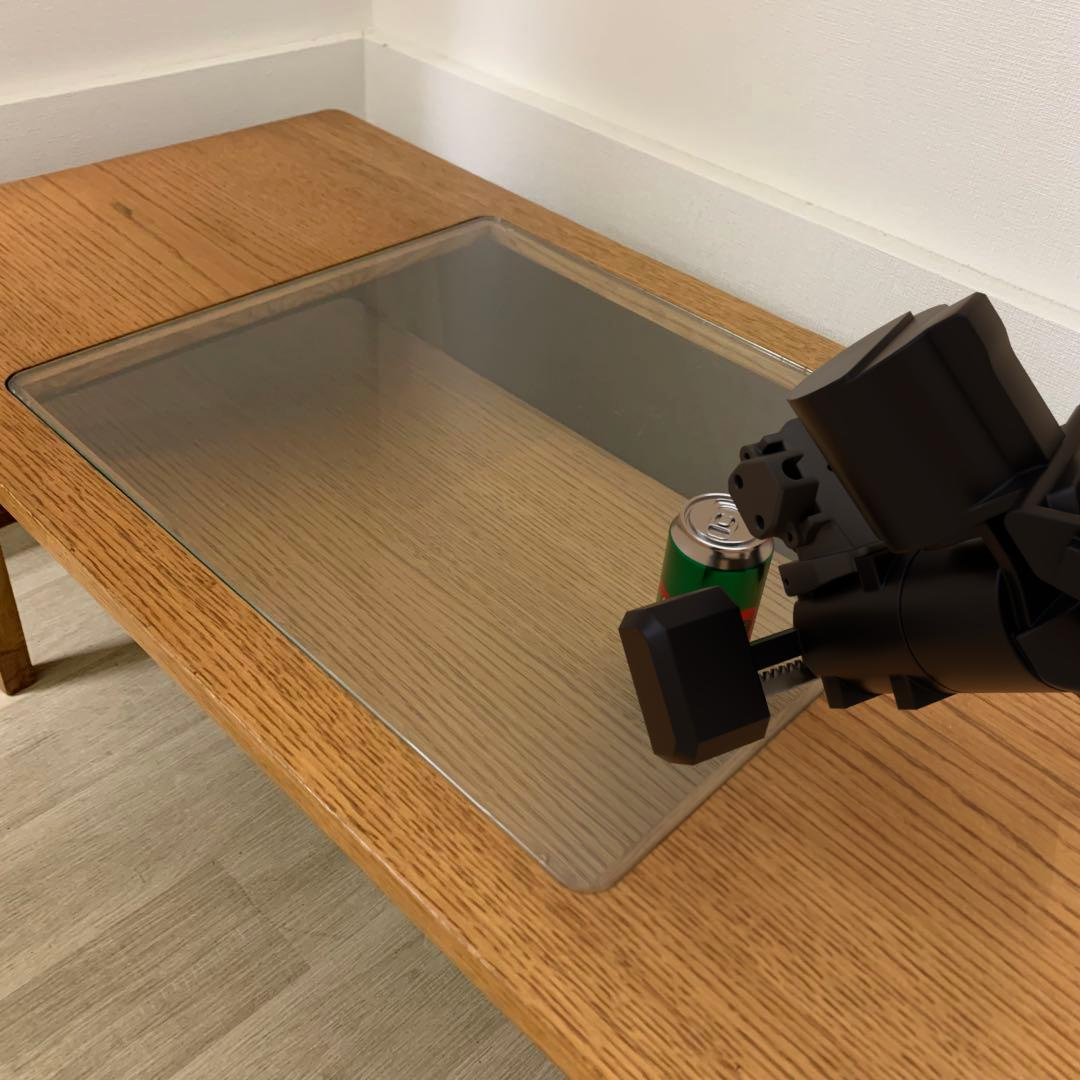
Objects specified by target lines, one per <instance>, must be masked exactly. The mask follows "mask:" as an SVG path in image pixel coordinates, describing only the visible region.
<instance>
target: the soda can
mask: <svg viewBox="0 0 1080 1080" xmlns="http://www.w3.org/2000/svg"><path fill="white" fill-rule="evenodd" d="M668 528H669V529H668V534H667V540H666V544H665V550H664V555H663V561H662V566H661V571H660V578H659V582H658V587H657V593H656V599H655V602H659V601H662V600H665V599H668V598H671V597H675V596H678V595H681V594H685V593H689V592H692V591H696V590H700V589H704V588H708V587H714V586H719V585H720V586H721V587H722V588H723V589H724V590H725V591H726V592H727V594H728V595H729V596H730V597H731V598H732V599H733V600H734V601H735V602H736V603H737V604H738V606H739V608H740V612H741V615H742V618H743V622H744V625H745V629H746V632H747V636H748V639H749V642H751V639H752V635H753V631H754V628H755V623H756V620H757V617H758V612H759V608H760V606H761V601H762V598H763V593H764V590H765V586H766V582H767V578H768V575H769V570H770V567H771V564H772V560H773V556H774V552H775V541H774V537H771V538H768V539H764V540H759V539H757V538H755V537H753V536H752V535H751V534H750V533H749V531H748V529H747V527H746V525H745V523H744V521H743V519H742V517H741V515H740V513H739V512H738V510H737V508H736V506H735V504H734V502H733V500H732V498H731V496H730V494H729V493H725V492H708V493H702V494H698V495H696V496H693V497H692V498H690V499H688V500H687V501H686V502H685V503H684V504H683V505H682V507H681V509H680V511H679V513H678V514H677V515H676V516H674V518H673V519H672V520H671V522H670V525H669V527H668Z"/></svg>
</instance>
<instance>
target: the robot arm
mask: <svg viewBox="0 0 1080 1080" xmlns="http://www.w3.org/2000/svg"><path fill="white" fill-rule="evenodd" d="M785 400H786V402H787V403H788V404H789V406H790V408H791V410H792V411H793V412H794V414H795V415H796V417H795V418H791V419H789V420H788V421H786V422H785V423H784V424H783V426H781V428H780V429H778V432H774V433H770V434H766V435H763V436H762V438H760V440H759V441H758V442H754V443H750V444H745V445H742V446H741V448H740V449H739V460H740V462H739V463H738V464H737V465H736V467H735V468H734V469H733V470H732V471H731V473H730V474H729V476H728V480H727V491H728V494H730V496H731V498H732V500H733V502H734V504H735V506H736V508H737V510H738V512H739V513H740V515H741V517H742V519H743V521H744V523H745V525H746V527H747V529H748V531H749V533H750V534H751V535H752V536H753V537H755V538H757V539H759V540H764V539H768V538H771V537H773V538H777V539H779V540H781V541H782V543H783V544H784V545H785V547H786V548H787V549H789V550H791V551H793V552H794V553H795V554H796V555H797V557H798V558H797V559H796V560H793V561H789V562H786V563H783V564H780V565H777V568H778V573H779V575H780V578H781V582H782V587H783V589H784V593H785V595H786V596H787V597H788V598H789V597H790V598H792V597H796V598H797V600H795V602H794V604H793V609H792V627H789V628H786V629H783V630H780V631H777V632H774V633H771V634H769V635H766V636H762V637H760V638H757V639H754V640H750V642H749V639H748V636H747V632H746V629H745V625H744V622H743V618H742V615H741V612H740V608H739V606H738V604H737V603H736V602H735V601H734V600H733V599H732V598H731V597H730V596H729V595H728V594H727V592H726V591H725V590H724V589H723V588H722V587H721V586H720V585H719V586H714V587H708V588H704V589H700V590H696V591H692V592H689V593H685V594H681V595H678V596H675V597H671V598H668V599H665V600H662V601H659V602H656V601H655V602H653V603H650V604H647V605H643V606H639V607H636V608H633V609H630V610H627V611H625V613H624V616H623V617H622V619H621V622H620V624H619V625H618V627H617V631H618V634H619V635H618V636H619V638H620V642H621V645H622V649H623V651H624V655H625V659H626V662H627V665H628V669H629V672H630V676H631V679H632V683H633V687H634V690H635V694H636V696H637V700H638V704H639V707H640V710H641V711H640V712H641V714H642V719H643V721H644V724H645V728H646V732H647V735H648V739H649V742H650V745H651V750H652V752H653V755H655V756H657V757H658V758H660V759H662V760H663V761H665V762H667V763H668V764H673V765H682V766H692V767H693V766H696V765H699V764H701V763H703V762H707V761H709V760H712V759H714V758H717V757H719V756H722V755H725V754H727V753H729V752H733V751H735V750H737V749H740V748H743V747H745V746H748V745H750V744H753V743H756V742H758V741H760V740H763V739H765V737H766V734H767V730H768V727H769V724H770V720H771V716H772V715H771V712H770V708H769V704H768V702H767V699H769V698H773V697H774V696H779V695H781V694H783V693H786V692H789V691H791V690H794V689H798V688H799V687H802V686H805V685H807V684H811V683H813V682H816V681H819V680H821V683H822V686H823V690H824V693H825V697H826V700H827V704H828V708H829V709H830V710H846V709H849V708H852V707H855V706H857V705H859V704H862V703H865V702H867V701H870V700H872V699H875V698H877V697H880V696H883V695H884V694H885V695H893V697H894V701H895V704H896V707H897V710H898V711H917V710H920V709H923V708H925V707H928V706H930V705H932V704H936V703H937V702H940V701H944V700H945V699H948V698H951V697H953V696H955V695H959V694H1037V693H1038V694H1055V693H1057V694H1058V693H1059V694H1061V693H1062V694H1064V693H1066V694H1067V693H1070V694H1073V695H1075V696H1076V697H1077V698H1078V699H1079V700H1080V403H1079V404H1077V405H1076V406H1075V408H1074V409H1073V411H1072V413H1071V414H1070V415H1069V418H1068V419H1067V420H1066V422H1065V423H1064V424H1063V423H1062V424H1061V425H1060V423H1059V422H1058V421H1057V420H1056V417H1055V415H1054V414H1053V412H1052V411H1051V409H1050V408H1049V405H1048V404H1047V402H1045V400H1044V397H1042V395H1041V393H1040V392H1039V390H1038V389H1037V387H1036V385H1035V383H1034V382H1033V380H1032V378H1031V377H1030V375H1029V374H1028V372H1027V370H1026V369H1025V368H1024V366H1023V364H1022V363H1021V361H1020V360H1019V358H1018V356H1017V354H1016V353H1015V351H1014V349H1013V346H1012V344H1011V341H1010V338H1009V334H1008V331H1007V328H1006V326H1005V324H1004V322H1003V320H1002V318H1001V316H1000V315H999V313H998V311H997V309H995V307H994V305H993V303H992V302H991V300H990V299H989V297H988V295H987V294H986V293H983V292H980V291H975V292H973V293H971V294H969V295H967V296H966V297H964V298H962V299H960V300H957V301H956V302H954V303H952V304H951V305H949V304H947V303H942V304H937V305H935V306H932V307H929V308H926V309H925V310H922V311H920V312H918V313H916V314H913V312H912V311H911V310H909V311H906V312H904V313H903V314H901V315H899V316H897V317H896V318H894V319H892V320H890V321H888V322H887V323H885V324H883V325H881V326H880V327H878V328H876V329H875V330H873V331H872V332H870V333H868V334H866V335H865V336H864V337H861V338H859V339H858V340H857V341H855V342H854V343H852V344H851V345H849V346H848V347H846V348H845V349H842V351H840V352H839V353H837V354H836V355H834V356H833V357H831V358H830V359H828V360H827V361H826V362H824V363H823V364H822V365H820V366H819V367H818V368H816V369H815V370H814V371H812V372H811V373H810V374H808V375H807V376H806V377H805V378H804V379H802V380H801V381H800V382H798V383H797V384H796V385H795V386H794V387H793V388H792V389H791V390H790V392H789V393H788V394H787V396H786V399H785ZM799 657H801V659H796V658H799ZM793 659H795V660H793ZM790 660H793V662H788V661H790ZM785 662H786V663H785ZM782 663H785V665H781V664H782ZM779 664H780V665H779ZM776 665H778V666H777V667H774V666H776ZM771 667H772V668H771ZM773 667H774V668H773ZM768 668H770V669H769V670H765V669H768ZM762 670H764V671H762ZM760 671H762V673H759V672H760Z"/></svg>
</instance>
